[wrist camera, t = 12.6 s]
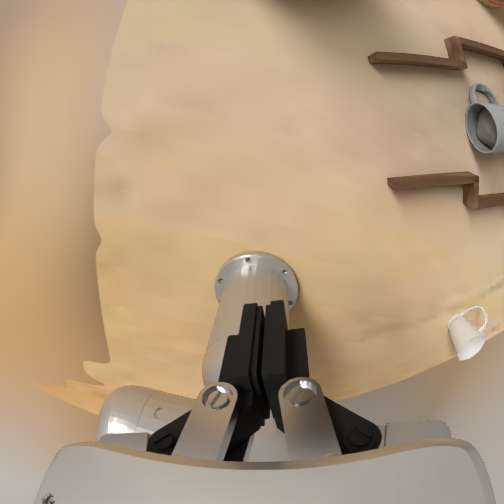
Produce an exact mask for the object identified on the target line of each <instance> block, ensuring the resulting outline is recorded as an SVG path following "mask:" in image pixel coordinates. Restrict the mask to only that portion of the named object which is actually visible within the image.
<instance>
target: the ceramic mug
mask: <svg viewBox="0 0 504 504" xmlns="http://www.w3.org/2000/svg"><path fill="white" fill-rule="evenodd" d="M475 90H479V91H482V92H484V93H485V94H486V95H487V96H488V97H489V99H490V100H491V102H492V104H491V103H485V102H480V101H478V100H477V97H476V92H475ZM469 96H470V100H471V104H470V105H469V107H468V108H467V111H466V116H465V124H466V130H467V134H468V137H469V139H470V141H471V143H472V144H473V146H474V147H475V148H476V149H477V150H478V151H479V152H481V153H483V154H496V153H504V106H502V105H499V102H498V100H497V98H496V96H495V95H494V93H493V92H492V91H491V90H490V89H489V88H488V87H487V86H485V85H483V84H480V83H475V84H474V85H473V86H472V87H471V88H470V90H469Z"/></svg>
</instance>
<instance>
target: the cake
mask: <svg viewBox="0 0 504 504" xmlns="http://www.w3.org/2000/svg"><path fill="white" fill-rule="evenodd" d="M478 1H479V2H481V3H482V4H483V5H485V6H487V7H489V8H496V7H499V6H500V7H504V0H478Z"/></svg>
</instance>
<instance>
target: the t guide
mask: <svg viewBox="0 0 504 504" xmlns="http://www.w3.org/2000/svg"><path fill="white" fill-rule="evenodd" d="M444 41H445V45H446V48H447V52H448V56H449V59H447V58H440V57H434V56H426V55H417V54H406V53H390V52H375V53H373V54H372V55H370V56H369V57H368V58H369V62H370V64H404V65H418V66H428V67H437V68H444V69H451V70H462V69H468V68H467V64H466V60H465V56H464V52H463V49H465V50H469V51H473V52H477V53H481V54H484V55H488V56H491V57H494V58H497V59H500V60H502V61H503V65H504V51H503V50H500V49H497V48H495V47H492V46H489V45H486V44H482V43H479V42H476V41H472V40H469V39H465V38H461V37H457V36H453V37H450V38H447V39H444ZM387 180H388V186H390V187H392V188H393V189H395V190H405V189H415V188H424V187H435V186H446V185H457V184H463V203H464V204H465V205H467V206H469V207H471V208H472V209H478V208H486V207H493V206H501V205H504V193H498V194H488V195H478V193H479V176H477V175H474V174H472V173H469V172H456V173H441V174H427V175H415V176H404V177H394V178H387Z"/></svg>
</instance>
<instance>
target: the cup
mask: <svg viewBox="0 0 504 504" xmlns="http://www.w3.org/2000/svg"><path fill="white" fill-rule="evenodd" d="M478 308H481V309H482V310H483V312H484V314H485V324H484V325H483V326H482V327H481V328H480V329H478V328H477V327H476V326H475V325H474V324H473V323H472V322H471V321H470V320H468V319H467V318H465V317H463V316H464V314H465V313H467V312H469V311H471V310H474V309H478ZM487 324H488V315H487V313H486V311H485V309H484V308H482V307H481V306H474V307H471V308H468V309H466V310H465V311H463V312H462V313H461V314H456V315H455V316H454V317H452V318H451V319H450V321H449V323H448V325H447V327H448V330H449V332H450V336H451V339H452V341H453V344H454V346H455V349H456V352H457V355H458V357H459V360H460V361H463V360H468V359H470V358H471V357H472V356H474V355H475V354H476V353H478V352H479V351H480V349H481V348H482V346H483V344H484V343H485V336H484V334H483V333H482V332H483V331H484V329H485V328H486V327H487Z"/></svg>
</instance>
